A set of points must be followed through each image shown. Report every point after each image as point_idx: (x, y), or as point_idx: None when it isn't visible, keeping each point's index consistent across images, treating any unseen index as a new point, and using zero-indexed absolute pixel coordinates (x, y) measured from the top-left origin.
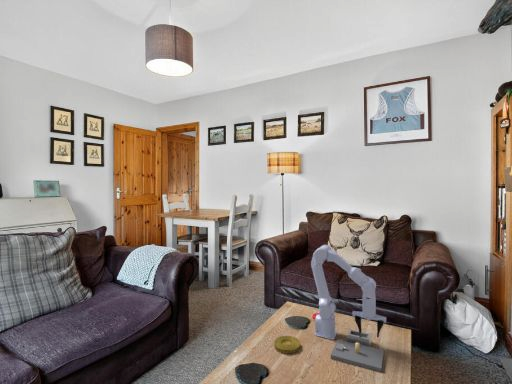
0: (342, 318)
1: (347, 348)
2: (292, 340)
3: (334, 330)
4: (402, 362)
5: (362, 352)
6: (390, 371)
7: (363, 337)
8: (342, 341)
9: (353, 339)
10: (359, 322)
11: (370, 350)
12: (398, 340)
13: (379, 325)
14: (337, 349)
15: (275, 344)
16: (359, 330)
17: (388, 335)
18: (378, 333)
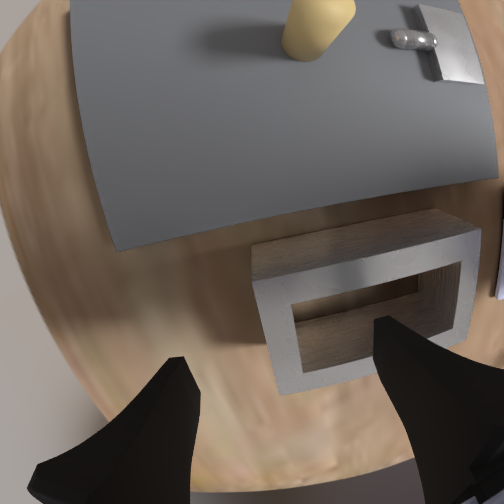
0: None
1: (398, 31)
2: None
3: None
4: (18, 220)
5: (262, 70)
6: (40, 61)
7: (330, 287)
8: (469, 164)
9: (411, 230)
10: (478, 405)
11: (207, 162)
12: None
13: (67, 476)
14: (445, 14)
15: None
16: (405, 330)
17: (209, 447)
18: (148, 386)
